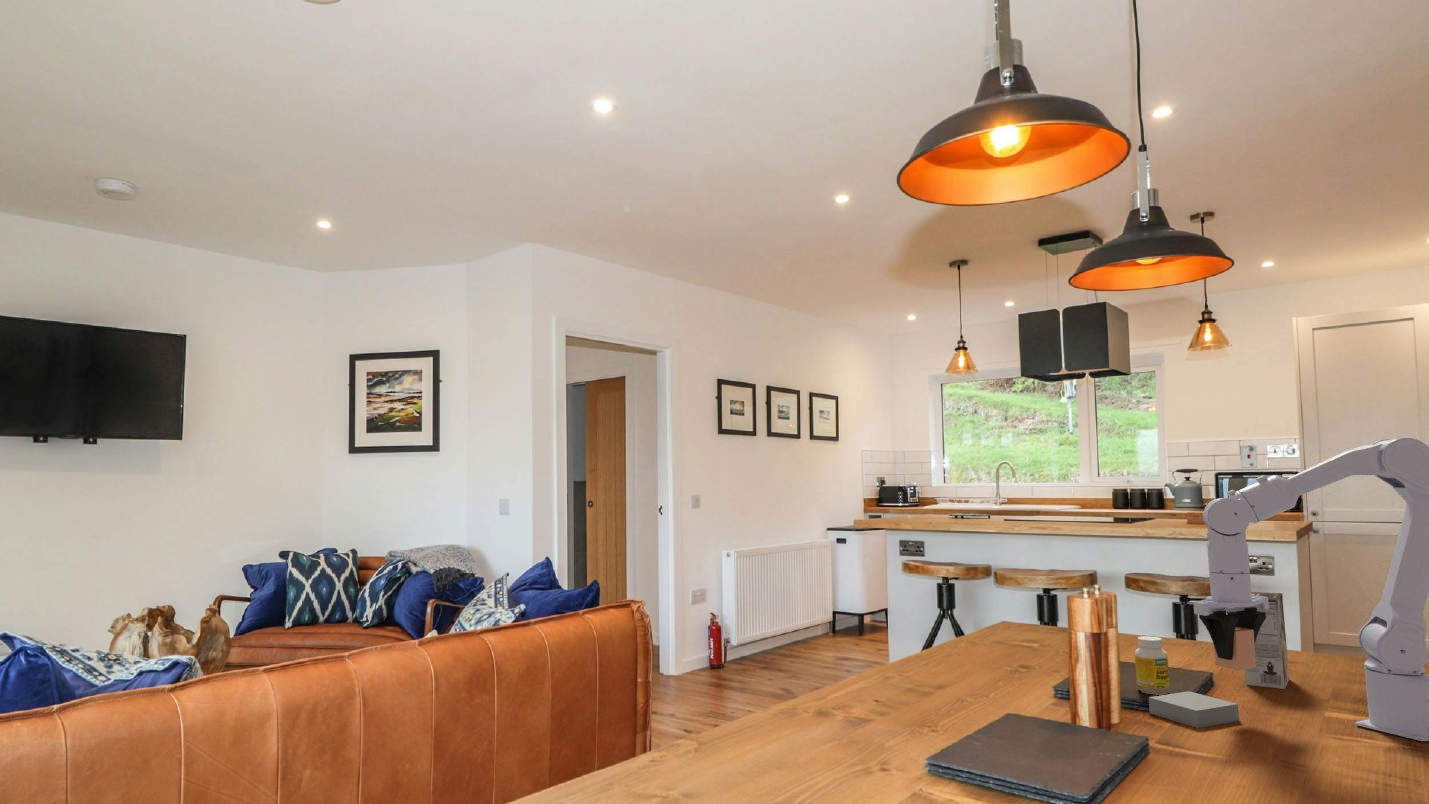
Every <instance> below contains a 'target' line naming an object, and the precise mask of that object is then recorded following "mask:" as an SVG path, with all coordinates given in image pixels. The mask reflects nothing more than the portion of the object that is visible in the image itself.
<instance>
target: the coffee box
mask: <svg viewBox="0 0 1429 804" xmlns="http://www.w3.org/2000/svg"><path fill="white" fill-rule="evenodd" d="M1251 596H1263V597H1268V603H1269V609H1257V611H1259V612H1265V613H1266V619H1265V621H1264V622H1263V624H1262V625H1261V627H1260V630H1259V632H1258V635H1257V638H1256V642H1255V658H1256V668H1250V669H1244V673H1245V675H1244V676H1245V684H1246V686H1252V687H1253V686H1255V687H1262V688H1271V689H1279V690H1280V689H1282V690H1286V688H1287V686H1288V683H1289V680H1290V670H1289V669H1290V668H1289V658H1288V647H1287V634H1286V625H1285V624H1286V623H1285V614H1284V603H1283V602H1284V599H1283V598H1284V597H1283V593H1282V592H1261V591H1259V592H1258V591H1251Z"/></svg>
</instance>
